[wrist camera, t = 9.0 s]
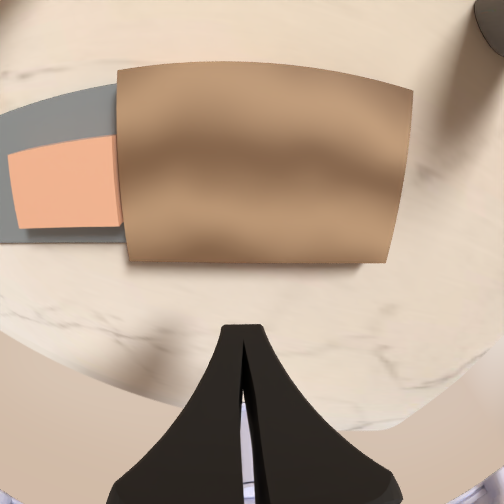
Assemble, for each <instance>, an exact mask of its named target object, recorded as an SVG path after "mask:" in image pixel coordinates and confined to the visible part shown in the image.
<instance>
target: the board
mask: <svg viewBox="0 0 504 504" xmlns="http://www.w3.org/2000/svg"><path fill="white" fill-rule="evenodd" d="M412 104H413V91H412V90H409V89H406V88H403V87H399V86H396V85H392V84H389V83H385V82H381V81H377V80H373V79H369V78H365V77H360V76H356V75H351V74H346V73H341V72H335V71H330V70H324V69H317V68H310V67H303V66H294V65H285V64H273V63H259V62H226V61H219V62H187V63H172V64H161V65H152V66H143V67H136V68H129V69H123V70H118V71H117V151H118V168H119V182H120V193H121V203H122V212H123V220H124V228H125V235H126V242H127V249H128V255H129V261H143V262H207V263H386V260H387V256H388V252H389V248H390V244H391V240H392V236H393V231H394V227H395V222H396V218H397V213H398V208H399V203H400V198H401V192H402V187H403V181H404V175H405V168H406V162H407V154H408V146H409V138H410V128H411V117H412Z"/></svg>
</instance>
